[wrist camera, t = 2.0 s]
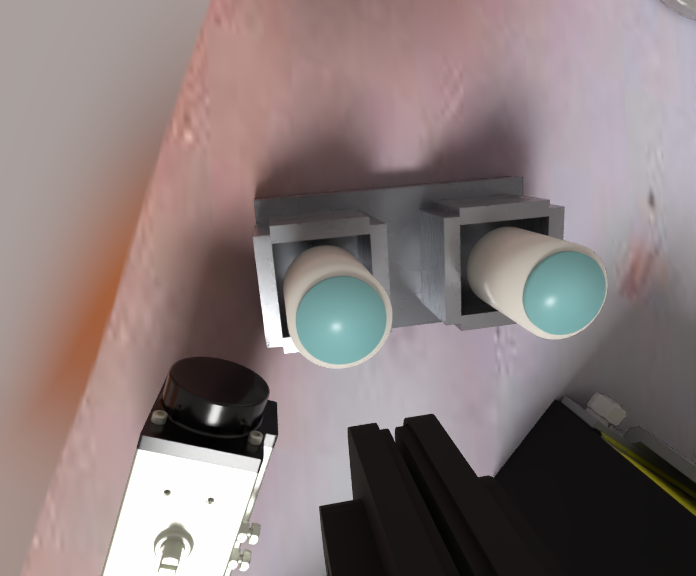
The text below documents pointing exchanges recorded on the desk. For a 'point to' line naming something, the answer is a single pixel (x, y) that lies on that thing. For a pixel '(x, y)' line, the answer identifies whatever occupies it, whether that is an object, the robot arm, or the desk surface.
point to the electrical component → (604, 493)
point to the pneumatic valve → (196, 474)
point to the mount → (398, 244)
